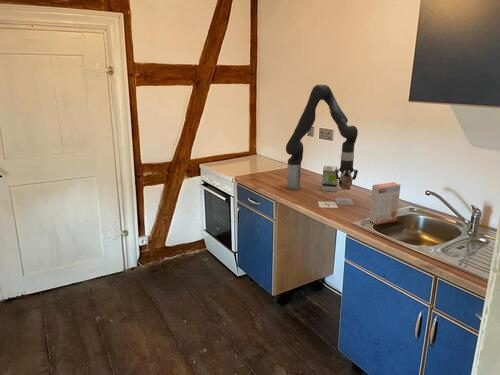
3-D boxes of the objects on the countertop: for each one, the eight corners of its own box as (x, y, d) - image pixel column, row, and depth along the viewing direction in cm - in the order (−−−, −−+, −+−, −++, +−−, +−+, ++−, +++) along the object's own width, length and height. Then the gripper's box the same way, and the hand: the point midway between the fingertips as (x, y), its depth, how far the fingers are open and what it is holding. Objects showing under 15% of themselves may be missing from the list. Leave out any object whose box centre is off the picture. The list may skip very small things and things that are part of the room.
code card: (319, 207, 226) (319, 207, 226) (317, 201, 236) (317, 201, 236) (338, 207, 225) (338, 207, 225) (335, 202, 236) (335, 201, 236)
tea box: (336, 191, 257) (338, 170, 253) (321, 191, 259) (322, 170, 255) (336, 185, 271) (337, 165, 267) (322, 185, 273) (323, 165, 269)
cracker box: (389, 217, 210) (393, 181, 204) (396, 221, 204) (401, 184, 198) (368, 221, 205) (372, 184, 199) (375, 225, 199) (379, 187, 193)
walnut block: (341, 189, 231) (342, 176, 228) (340, 186, 237) (340, 174, 235) (350, 189, 230) (351, 177, 228) (348, 186, 237) (349, 174, 235)
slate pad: (337, 204, 231) (337, 204, 231) (334, 198, 242) (334, 198, 242) (354, 205, 230) (354, 204, 230) (350, 198, 242) (350, 198, 242)
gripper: (336, 160, 225) (334, 187, 230) (360, 160, 225) (358, 187, 229) (334, 157, 233) (332, 184, 237) (357, 157, 232) (355, 184, 237)
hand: (345, 185), depth 233 cm, fingers closed on walnut block, 5 cm apart
